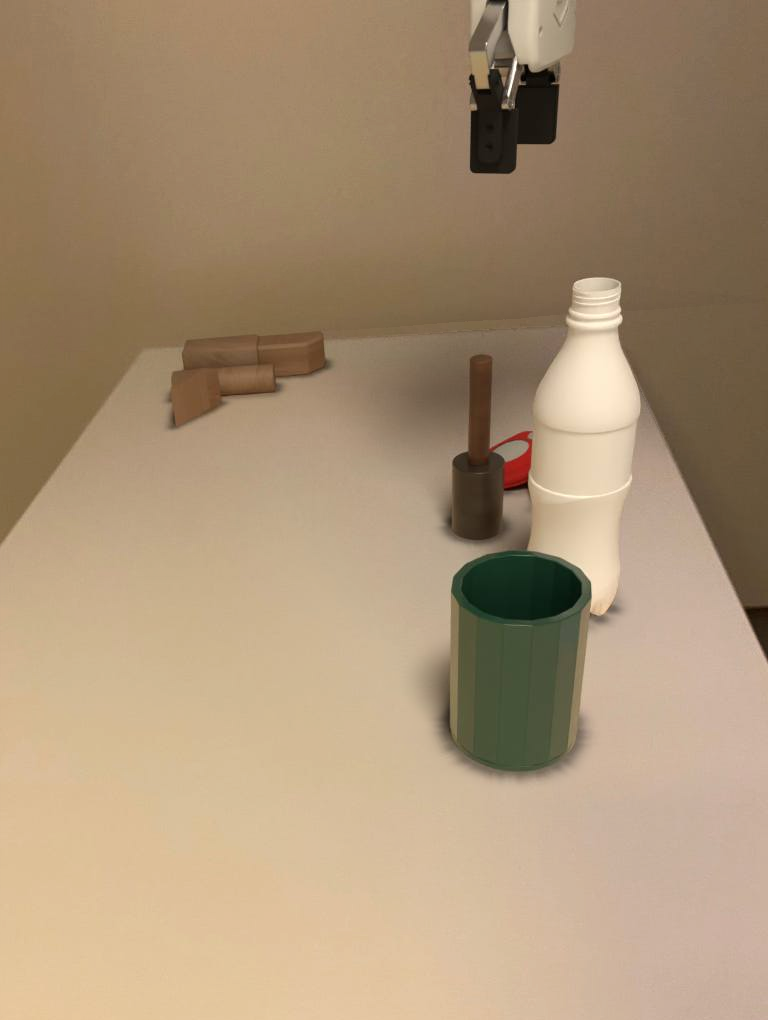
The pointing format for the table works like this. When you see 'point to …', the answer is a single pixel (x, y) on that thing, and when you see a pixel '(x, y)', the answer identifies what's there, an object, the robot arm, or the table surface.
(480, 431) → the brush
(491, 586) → the green faceted cup
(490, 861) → the table surface
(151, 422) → the table surface
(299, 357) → the wooden block set
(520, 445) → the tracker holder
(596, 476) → the water bottle
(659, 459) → the table surface
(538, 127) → the robot arm
